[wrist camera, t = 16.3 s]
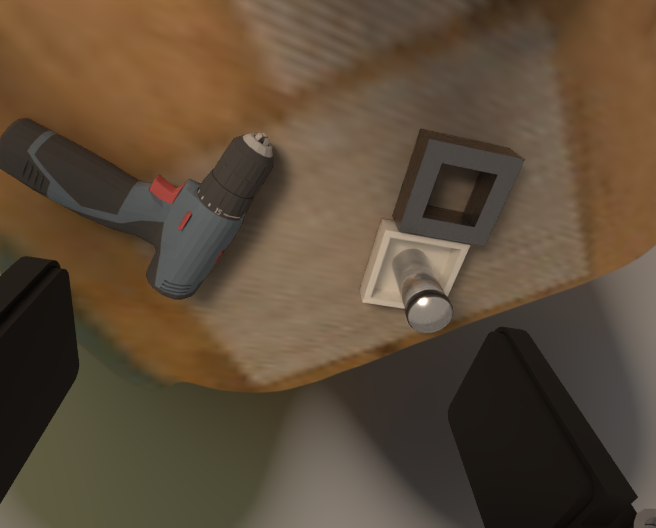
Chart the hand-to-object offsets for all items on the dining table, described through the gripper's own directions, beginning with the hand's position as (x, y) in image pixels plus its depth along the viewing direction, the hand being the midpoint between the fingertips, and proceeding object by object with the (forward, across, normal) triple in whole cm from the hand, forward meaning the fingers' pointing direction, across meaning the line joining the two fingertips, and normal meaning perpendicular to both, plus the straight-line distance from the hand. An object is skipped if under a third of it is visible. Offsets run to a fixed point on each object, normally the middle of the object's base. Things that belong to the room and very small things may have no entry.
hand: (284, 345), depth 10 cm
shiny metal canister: (+32, -15, +15) cm, 38 cm away
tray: (+32, -15, +15) cm, 39 cm away
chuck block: (+32, -16, +6) cm, 36 cm away
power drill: (+33, +13, +10) cm, 37 cm away
